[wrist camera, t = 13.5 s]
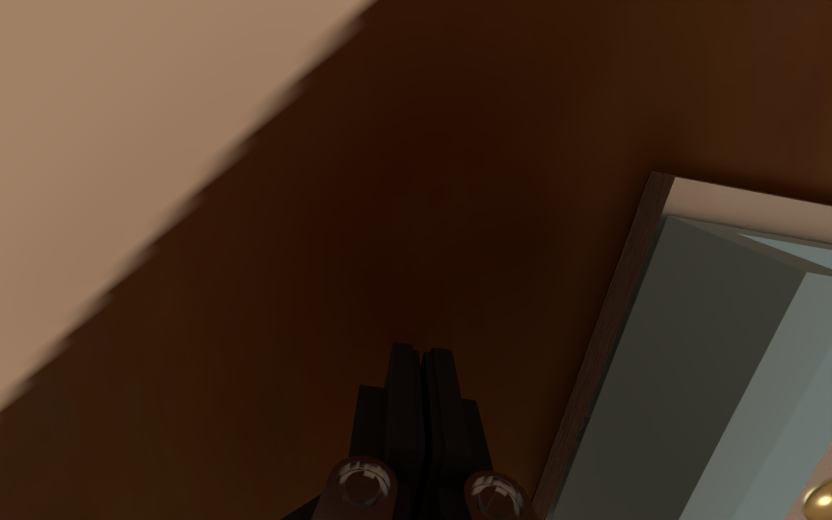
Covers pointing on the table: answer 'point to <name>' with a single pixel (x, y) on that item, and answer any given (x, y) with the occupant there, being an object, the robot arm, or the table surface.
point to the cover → (713, 383)
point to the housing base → (663, 196)
